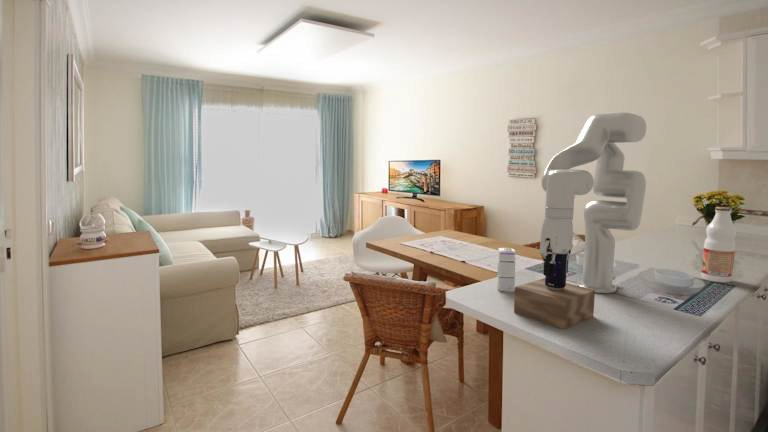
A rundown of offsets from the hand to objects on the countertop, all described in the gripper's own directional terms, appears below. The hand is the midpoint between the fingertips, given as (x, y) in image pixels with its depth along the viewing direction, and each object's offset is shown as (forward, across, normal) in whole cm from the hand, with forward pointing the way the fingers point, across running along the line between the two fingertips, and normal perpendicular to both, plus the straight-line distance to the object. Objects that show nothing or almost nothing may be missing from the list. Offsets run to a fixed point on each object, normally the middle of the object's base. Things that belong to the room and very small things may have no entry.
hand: (555, 273), depth 124 cm
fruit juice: (+13, -84, +17) cm, 87 cm away
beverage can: (+5, 0, 0) cm, 5 cm away
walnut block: (+13, 0, 0) cm, 13 cm away
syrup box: (+13, -9, -24) cm, 29 cm away
